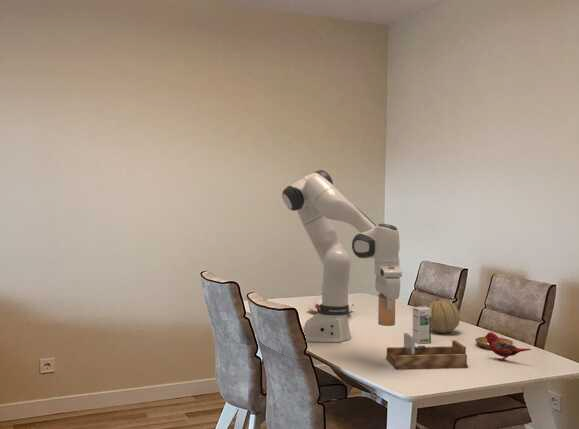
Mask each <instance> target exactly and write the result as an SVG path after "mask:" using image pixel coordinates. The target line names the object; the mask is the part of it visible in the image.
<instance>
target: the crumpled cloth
mask: <svg viewBox="0 0 579 429" xmlns="http://www.w3.org/2000/svg"><path fill="white" fill-rule="evenodd" d="M316 304H319V305H321V304H322V294H320V295H318V296H316V298H315V299H314V300H313V301H312V302H311V303H310V304H308V305H307V309H308V310H310V311H314V312H316V313H318V312H317V309H316V308H315V305H316ZM348 305H349V310H351V309H352V307H354V306H355V304H354V303H353V302H352V301H350V300H348Z"/></svg>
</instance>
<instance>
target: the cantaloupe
mask: <svg viewBox="0 0 579 429" xmlns="http://www.w3.org/2000/svg"><path fill="white" fill-rule="evenodd" d="M428 307H429V308H431V330H432V331H434V332H436V333H441V334H447V333H450V332H452V331H454V330H455V329H457V328H458V326H459V324H460V321H461V316H460V311H459V309H458V308H457V306H456V305H455V304H454V303H453V302H452V301H450V300H447V299H440V298H436V299H435V301H433V302H432V303H431V304H430V305H429V306H428Z"/></svg>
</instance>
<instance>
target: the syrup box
mask: <svg viewBox="0 0 579 429" xmlns="http://www.w3.org/2000/svg"><path fill="white" fill-rule="evenodd" d="M412 337H413V338H414V339H415V344H416V343H417V344H418V345H419V344H431V343H432V328H431V308H429V306H425V305H424V306H413V307H412Z"/></svg>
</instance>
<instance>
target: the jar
mask: <svg viewBox="0 0 579 429" xmlns="http://www.w3.org/2000/svg"><path fill="white" fill-rule="evenodd" d="M377 297H378V309H377V310H378V311H377V312H378V313H377V314H378V315H377V316H378V317H377V318H378V319H377V320H378V323H377V324H378V325H379V326H382V327H392V326H395V325H396V299H394V300H393V304H392V310H388V309H387V308H386V304H387V297H385V296H384V295H382V294H381V293H378V296H377Z"/></svg>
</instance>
